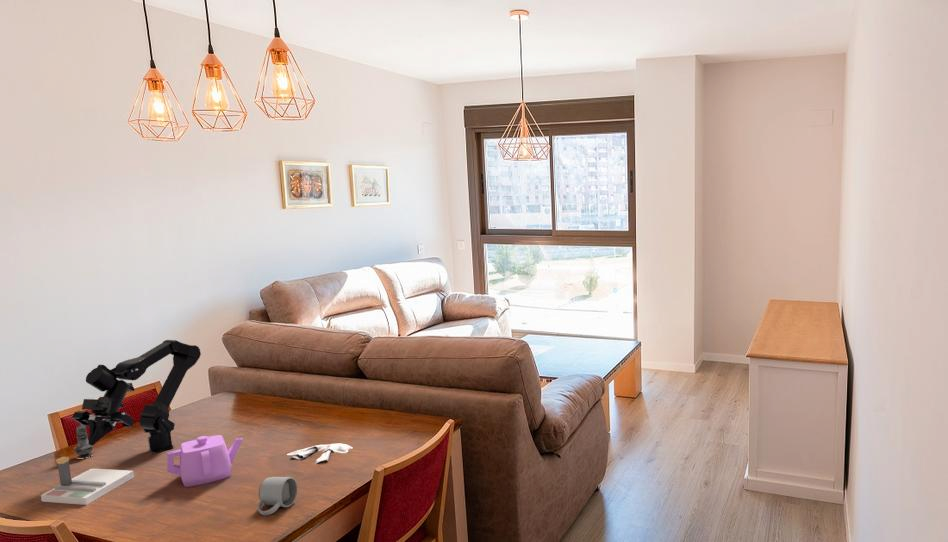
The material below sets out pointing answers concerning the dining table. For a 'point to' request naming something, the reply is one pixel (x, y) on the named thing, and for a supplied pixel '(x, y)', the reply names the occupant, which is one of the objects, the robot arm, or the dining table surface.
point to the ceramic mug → (277, 493)
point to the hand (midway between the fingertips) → (90, 445)
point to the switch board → (88, 486)
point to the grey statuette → (82, 443)
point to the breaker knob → (64, 471)
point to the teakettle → (203, 460)
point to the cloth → (325, 456)
